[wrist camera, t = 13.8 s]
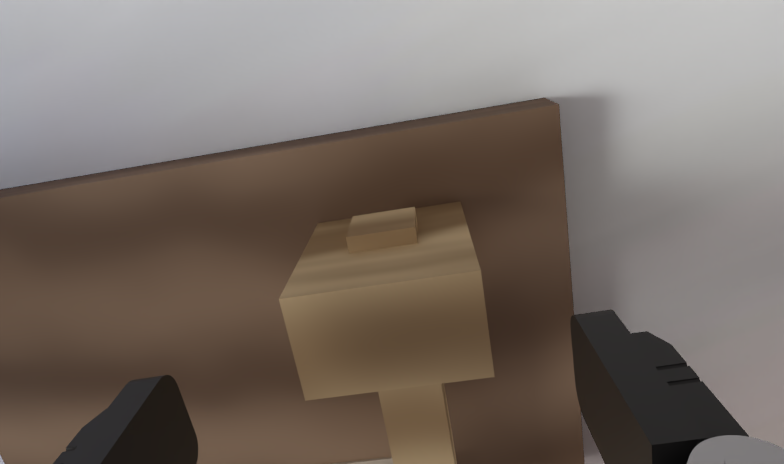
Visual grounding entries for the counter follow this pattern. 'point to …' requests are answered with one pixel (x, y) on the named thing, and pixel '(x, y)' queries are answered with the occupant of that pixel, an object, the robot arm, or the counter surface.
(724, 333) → the counter surface
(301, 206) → the walnut board
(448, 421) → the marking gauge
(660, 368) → the robot arm
